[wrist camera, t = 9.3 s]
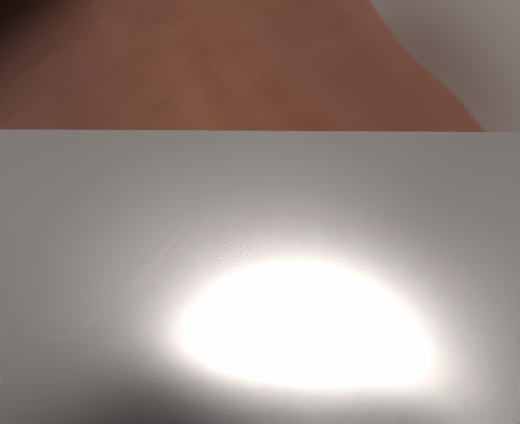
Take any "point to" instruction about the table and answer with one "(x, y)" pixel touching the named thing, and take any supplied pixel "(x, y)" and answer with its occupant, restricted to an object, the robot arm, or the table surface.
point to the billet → (259, 277)
